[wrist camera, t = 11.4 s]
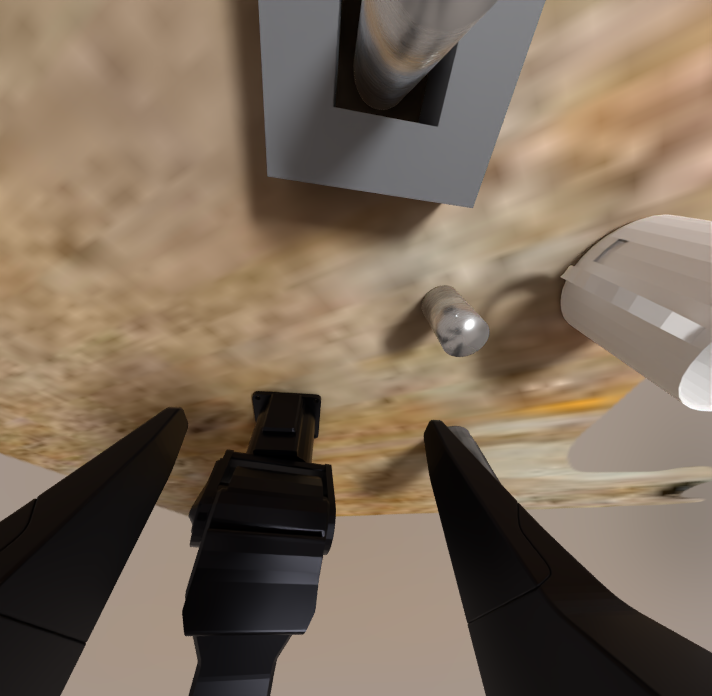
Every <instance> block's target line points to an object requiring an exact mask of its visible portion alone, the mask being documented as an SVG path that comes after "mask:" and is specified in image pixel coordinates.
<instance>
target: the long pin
mask: <svg viewBox="0 0 712 696" xmlns="http://www.w3.org/2000/svg"><path fill="white" fill-rule="evenodd" d="M497 1H498V0H362V4H361V11H360V19H359V26H358V34H357V41H356V48H355V56H354V64H353V73H354V81H355V85H356V88H357V91H358V93H359V95H360V96H361V98H362V99H363V101H364V102H365V103H366V104H367V105H369V106H370V107H372V108H374V109H377V110H387V109H390V108H393V107H394V106H396V105H397V104H398V103H399V102H400V101H401V100H402V99H403V98H404V97H405V96H406V95H407V94H408V93H409V92H410V91H411V90H412V89H413V88H414V87H415V86H416V85H417V84H418V83H419V82H420V81H421V80H422V79H423V78H424V77H425V75H426V74H427V73H428V72H429V71H430V70H431V69H432V68H433V67H434V66H435V65H436V64H437V63H438V62H439V61H440V60H441V59H442V58H443V57H444V56H445V55H446V54H447V53H448V52H449V51H450V50H451V49H452V48H453V47H454V46H455V45H456V43H457V42H458V41H459V40H460V39H461V38H462V37H463V36H464V35H465V34H466V33H467V32H468V31H469V30H470V29H471V28H472V27H473V26H474V25H475V24H476V23H477V22H478V21H479V20H480V19H481V18H482V17H483V16H484V15H485V14H486V13H487V11H488V10H489V9H490V8H491V7H492V6H493V5H494V4H495V3H496V2H497Z"/></svg>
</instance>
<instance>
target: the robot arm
mask: <svg viewBox="0 0 712 696" xmlns="http://www.w3.org/2000/svg"><path fill="white" fill-rule="evenodd" d="M258 396H259V397H258ZM252 399H253V406H254V413H255V421H256V425H255V428H254V431H253V434H252V437H251V440H250V443H249V446H248V449H247V452H246V453H239V452H234V450H226V453H225V455H224V457H223V458H221V459H220V460H218V461H216V463H215V466H214V468H213V470H212V473H211V475H210V477H209V480H208V482H207V483H206V485H205V487H204V488H203V490H202V491H201V493H200V495H199V496H198V498H197V499H196V501H195V503H194V504H193V506H192V508H191V510H190V512H189V518H190V520H191V522H192V530H191V533H192V536H191V540H190V547H199V550H198V553H197V556H196V560H195V563H194V566H193V570H192V573H191V576H190V579H189V583H188V586H187V589H186V594H185V603H184V607H183V610H182V616H183V627H184V635H185V636H193V639H194V644H195V649H196V654H197V659H198V664H197V667H196V671H195V674H194V678H193V682H192V686H191V689H190V693H189V696H270V693H271V688H272V682H273V676H274V671H275V666H276V661H277V658H278V656H279V655H280V653H281V652H282V650H283V649H284V647H285V645H286V644H287V642H288V641H289V639H290V637H291V636H292V635H301V634H304V633H305V632H306V630H307V628H308V626H309V624H310V621H311V619H312V617H313V615H314V613H315V609H316V600H317V590H318V582H319V575H320V570H321V564H322V559H323V555H327V554H328V552H329V550H330V547H331V544H332V540H333V535H334V529H335V519H336V505H335V495H334V486H333V476H332V467H331V465H330V464H325V465H322V464H315V463H312V453H313V442H314V438H317V437H318V432H319V420H320V408H321V397H320V396H319V395H314V394H297V393H279V392H262V391H256V392H254V394H253V397H252ZM315 399H317V400H315ZM187 428H188V421H187V419H186V416H185V413H184V410H183V409H182V408H180V407H168V408H166V409H165V410H163V411H162V412H160V413H159V414H157V415H156V416H154V417H153V418H151V419H150V420H148V421H147V422H146V423H144V424H143V425H141V426H140V427H138V428H137V429H135V430H134V431H132V432H131V433H130V434H128V435H127V436H125V437H124V438H122V439H121V440H119V441H118V442H116V443H115V444H113V445H112V446H111V447H109V448H108V449H106V450H105V451H103V452H102V453H100V454H99V455H97V456H96V457H95V458H93V459H92V460H90V461H89V462H87V463H86V464H84V465H83V466H81V467H80V468H78V469H77V470H76V471H74V472H73V473H71V474H70V475H68V476H67V477H65V478H64V479H62V480H61V481H59V482H58V483H57V484H55V485H54V486H52V487H51V488H49V489H48V490H46V491H45V492H44V493H42V494H41V495H39V496H38V497H37V499H33V500H32V501H30V502H29V503H27V504H26V505H25V506H23V507H21V508H20V509H18V510H17V511H16V512H14V513H13V514H11V515H10V516H8V517H7V518H5V519H4V520H2V521H1V522H0V696H60V695H61V693H62V691H63V689H64V687H65V685H66V683H67V681H68V679H69V677H70V675H71V673H72V671H73V669H74V667H75V665H76V663H77V661H78V659H79V657H80V655H81V653H82V651H83V649H84V647H85V645H86V642H87V641H88V639H89V637H90V635H91V632H92V630H93V629H94V626H95V625H96V622H97V621H98V619H99V617H100V615H101V612H102V610H103V608H104V606H105V604H106V602H107V600H108V598H109V596H110V594H111V592H112V590H113V588H114V586H115V584H116V582H117V580H118V578H119V576H120V574H121V572H122V570H123V568H124V566H125V564H126V562H127V560H128V558H129V556H130V554H131V552H132V550H133V548H134V546H135V544H136V542H137V540H138V538H139V536H140V534H141V532H142V530H143V528H144V526H145V524H146V522H147V520H148V518H149V516H150V514H151V512H152V510H153V508H154V506H155V504H156V502H157V500H158V498H159V496H160V494H161V492H162V490H163V488H164V486H165V484H166V482H167V480H168V478H169V476H170V474H171V471H172V469H173V466H174V464H175V461H176V458H177V456H178V453H179V450H180V448H181V445H182V442H183V440H184V437H185V434H186V431H187ZM424 443H425V450H426V457H427V463H428V470H429V476H430V481H431V485H432V489H433V492H434V496H435V500H436V504H437V508H438V512H439V515H440V520H441V523H442V527H443V531H444V535H445V539H446V543H447V547H448V550H449V554H450V558H451V562H452V566H453V570H454V573H455V577H456V581H457V585H458V589H459V593H460V596H461V600H462V604H463V608H464V612H465V616H466V620H467V623H468V628H469V632H470V636H471V640H472V643H473V648H474V651H475V655H476V659H477V663H478V666H479V671H480V675H481V678H482V682H483V686H484V690H485V694H486V696H712V653H711V652H710V651H708V650H706V649H704V648H702V647H701V646H699V645H697V644H695V643H693V642H692V641H690V640H688V639H686V638H684V637H682V636H681V635H679V634H677V633H676V632H674V631H672V630H670V629H668V628H667V627H665V626H663V625H661V624H659V623H658V622H656V621H654V620H652V619H651V618H649V617H647V616H645V615H643V614H642V613H640V612H638V611H637V610H635V609H633V608H632V607H630V606H629V605H627V604H626V603H625V602H623V601H622V600H620V599H619V598H618V597H617V596H615V595H614V594H613V593H612V592H611V591H609V590H608V589H607V588H606V587H605V586H604V585H603V584H602V583H601V582H599V581H598V580H597V579H596V578H595V577H594V576H593V575H592V574H591V573H590V572H589V571H588V570H587V569H586V568H585V567H583V566H582V565H581V564H580V563H579V562H578V561H577V560H576V559H575V558H574V557H573V556H572V555H571V554H570V553H569V552H567V551H566V550H565V549H564V548H563V547H562V546H561V545H560V544H559V543H558V542H557V541H556V540H555V539H554V538H553V537H552V536H551V535H550V534H549V533H548V532H547V531H546V530H544V529H543V527H542V526H540V525H539V523H538V522H537V521H536V520H535V519H534V518H533V517H532V516H531V515H530V514H529V513H528V512H527V511H526V510H525V509H524V508H523V507H522V506H521V505H520V504H519V503H517V500H516V499H515V498H514V497H513V496H512V495H511V494H510V493H509V492H508V491H507V490H506V489H505V488H504V487H503V486H502V485H501V483H500V482H499V481H498V480H497V479H496V478H495V477H494V476H493V475H492V474H491V473H490V472H489V471H488V470H487V469H486V468H485V466H484V465H483V464H482V463H481V462H480V461H479V460H478V459H477V458H476V457H475V456H474V455H473V454H472V453H471V452H470V450H469V449H468V448H467V447H466V446H465V445H464V444H463V443H462V442H461V441H460V440H459V439H458V438H457V437H456V436H455V435H454V433H453V432H452V431H451V430H450V429H449V428H448V427H447V426H446V425H445V424H444V423H443V422H442V421H440V420H431V421H429V423H428V426H427V428H426V430H425V432H424Z"/></svg>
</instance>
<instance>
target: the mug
mask: <svg viewBox="0 0 712 696" xmlns="http://www.w3.org/2000/svg"><path fill="white" fill-rule="evenodd" d="M561 278H563V279H565V280H566V282H565V284H564V287H563V289H562V294H561V299H560V300H561V311H562V314H563V317H564V319H565V320H566V321H567V323H568V324H569V325H571V326H572V327H574V328H575V329H577V330H578V331H580V332H581V333H582V334H584V335H585V336H587V337H588V338H590V339H591V340H592V341H594V342H595V343H597V344H598V345H600V346H601V347H602V348H604V349H605V350H607V351H608V352H610V353H611V354H613V355H614V356H615V357H617V358H618V359H620V360H621V361H623V362H624V363H625V364H627V365H628V366H630V367H631V368H633V369H634V370H635V371H637V372H638V373H640V374H641V375H643V376H644V377H645V378H647V379H648V380H650V381H651V382H653V383H654V384H656V385H657V386H658V387H660V388H661V389H663V390H664V391H666V392H667V393H668V394H670V395H671V396H673V397H674V398H676V399H677V400H678V401H680V402H681V403H683V404H685V405H686V406H688V407H689V408H691V409H695V410H699V411H712V221H708V220H702V219H695V218H688V217H682V216H675V215H667V214H666V215H656V216H651V217H647V218H644V219H640V220H637V221H634V222H632V223H629V224H627V225H625V226H623V227H621V228H618V229H617V230H615V231H614V232H612V233H610V234H609V235H607V236H605V237H604V238H603V239H601V240H600V241H599V242H598V243H596V244H595V245H594V246H593V247H592V248H591V249H590V250H589V251H588V252H587V253H586V254H585V255H583V256H582V258H581V259H580V260H579V261H578V263H577V264H576V265H575V266H571V265H570V266H569V267H568V269H567V270H566V271H565V273H564V274H563V275H562V276H561Z"/></svg>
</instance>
